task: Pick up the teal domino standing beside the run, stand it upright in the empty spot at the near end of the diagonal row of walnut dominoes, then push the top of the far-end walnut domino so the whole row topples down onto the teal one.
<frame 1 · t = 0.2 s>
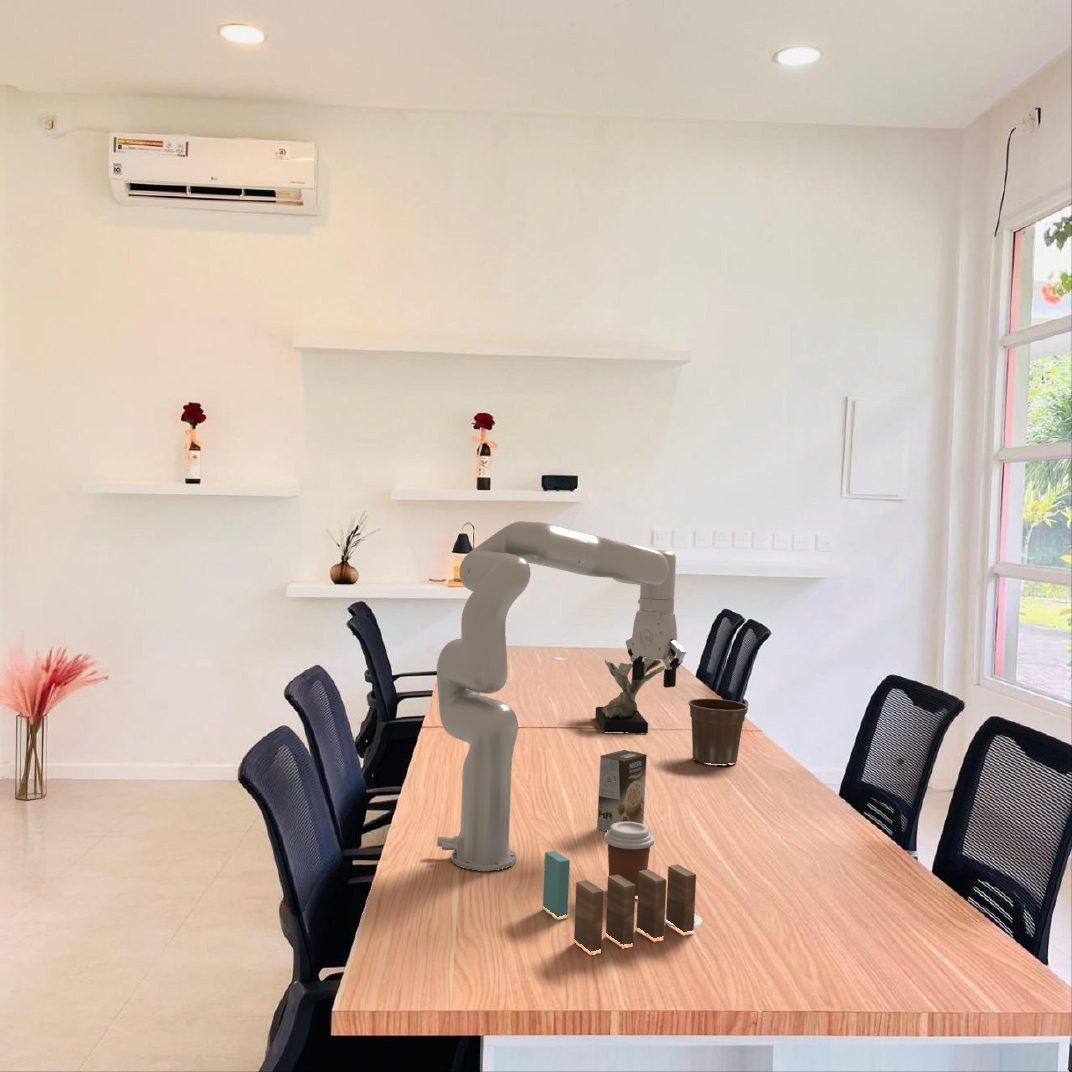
hand: (653, 683, 226), 31 cm above the table, tool pointing down, fingers open, 9 cm apart
teal domino: (555, 913, 175), on the table
domino 4: (587, 948, 162), on the table
plant pot: (715, 762, 284), on the table
domino 3: (619, 941, 165), on the table
domino 2: (649, 935, 167), on the table
coral: (629, 725, 326), on the table
coffee box: (620, 828, 222), on the table
domino 1: (679, 929, 170), on the table
coffee cup: (626, 893, 186), on the table
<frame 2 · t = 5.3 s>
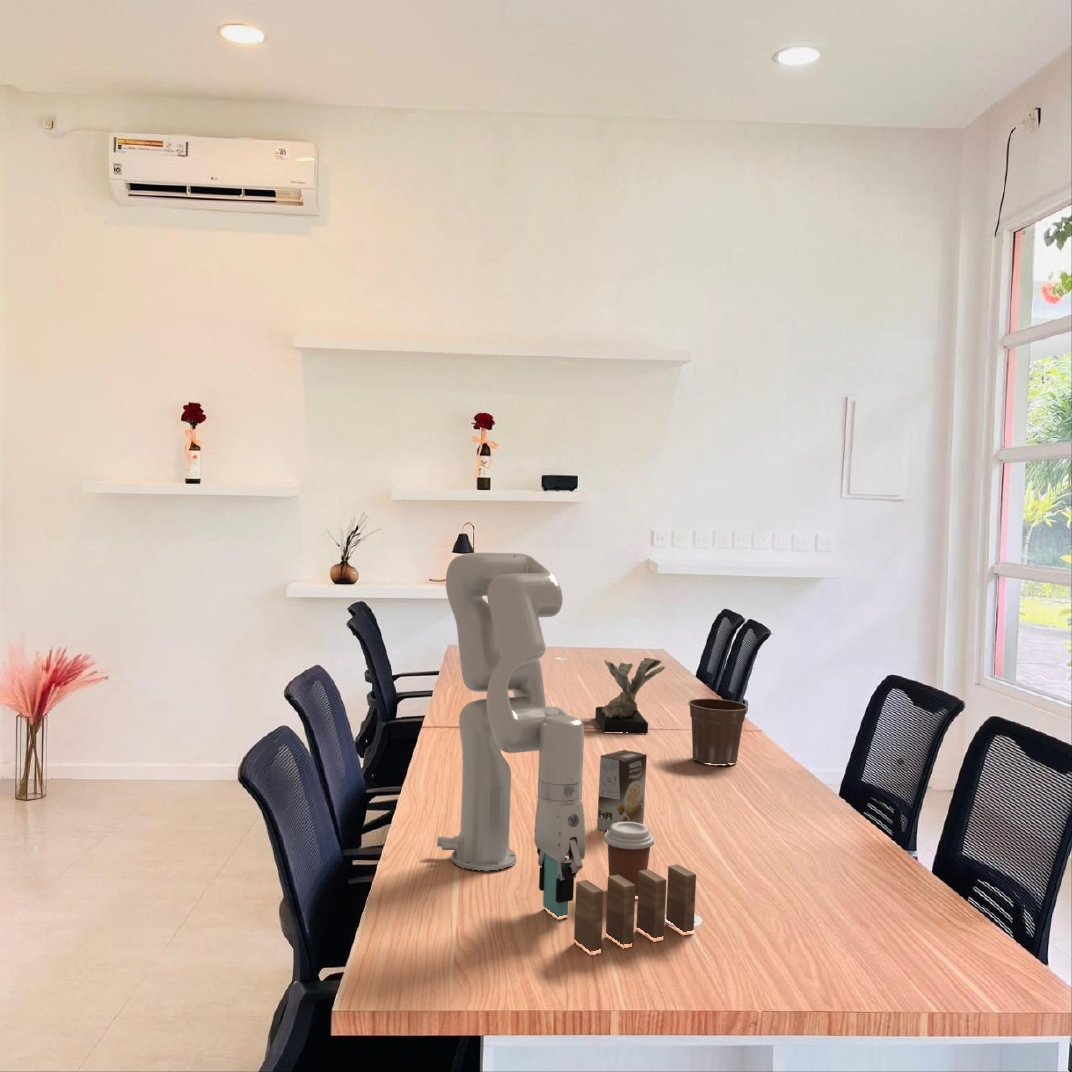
hand: (555, 894, 175), 3 cm above the table, tool pointing down, fingers closed on teal domino, 4 cm apart
teal domino: (555, 913, 175), on the table, touching gripper
everything else where it was.
when the fingers open (5 cm above the table, at t = 12.2 s): teal domino drops 1 cm, on the table.
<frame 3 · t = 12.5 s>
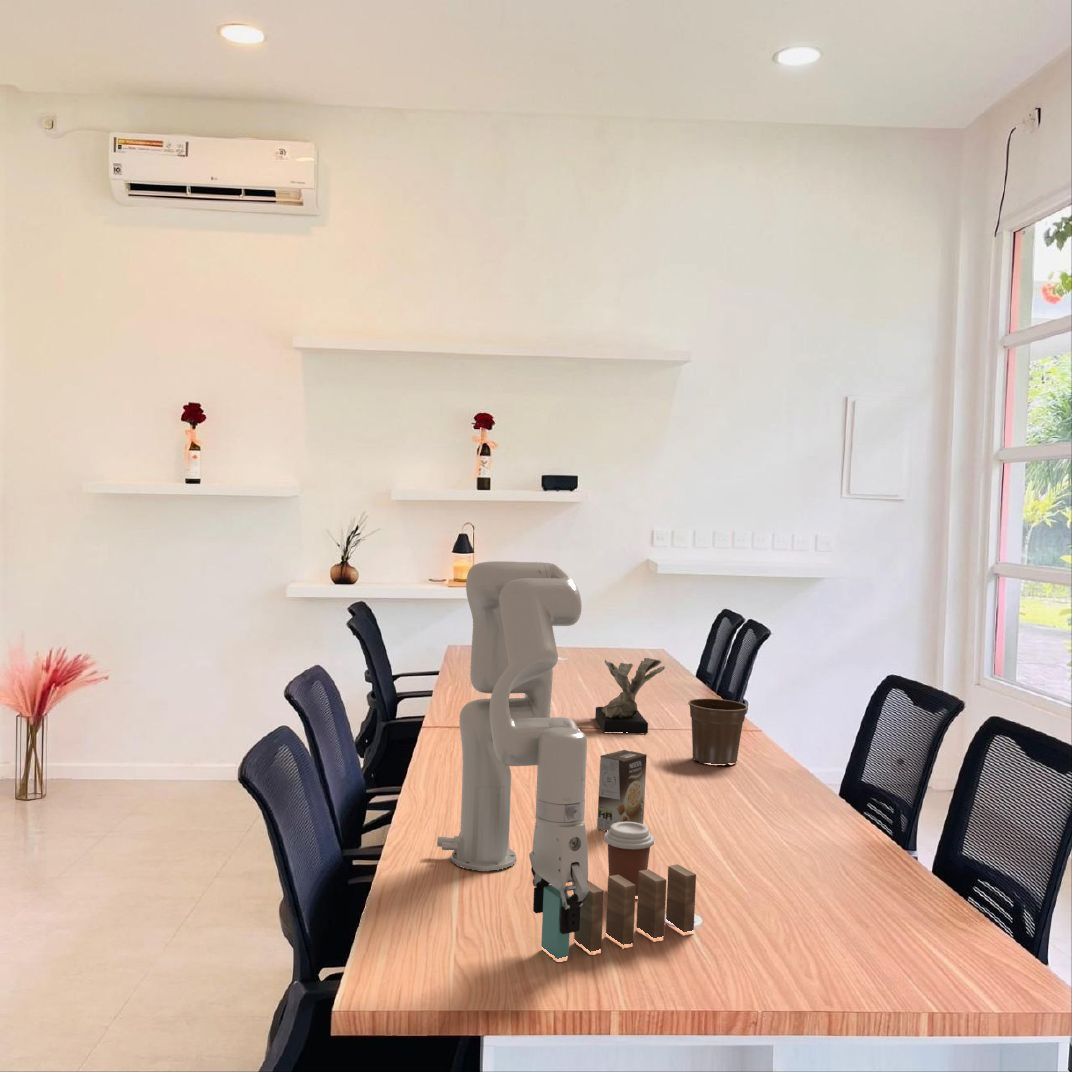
hand: (555, 920, 159), 5 cm above the table, tool pointing down, fingers open, 7 cm apart
teal domino: (554, 955, 159), on the table
everything else where it was.
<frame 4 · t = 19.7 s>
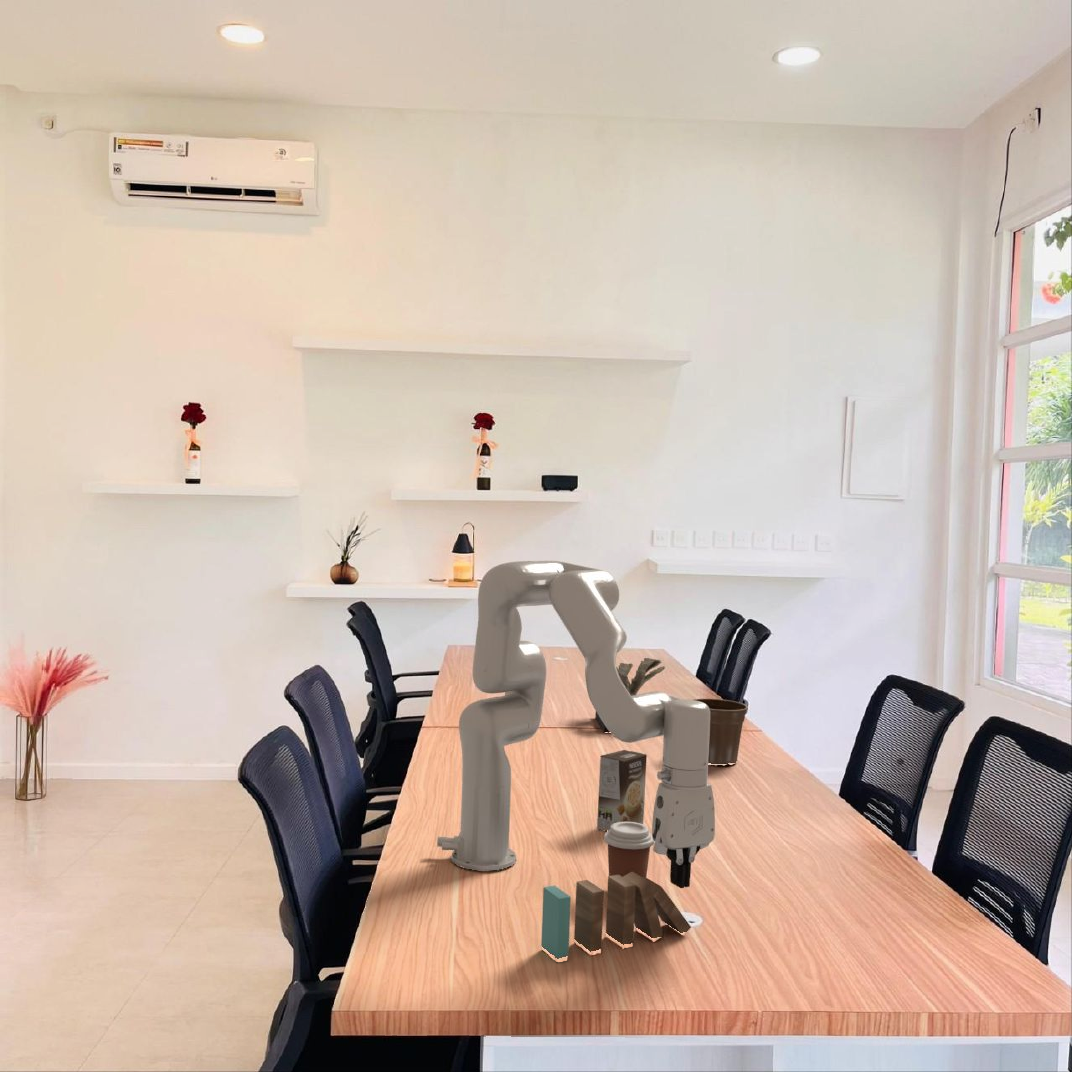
hand: (679, 884, 170), 8 cm above the table, tool pointing down, fingers closed
domino 2: (649, 933, 167), on the table, tilted 19°
domino 1: (678, 925, 170), point 1 cm above the table, tilted 40°
everything else where it was.
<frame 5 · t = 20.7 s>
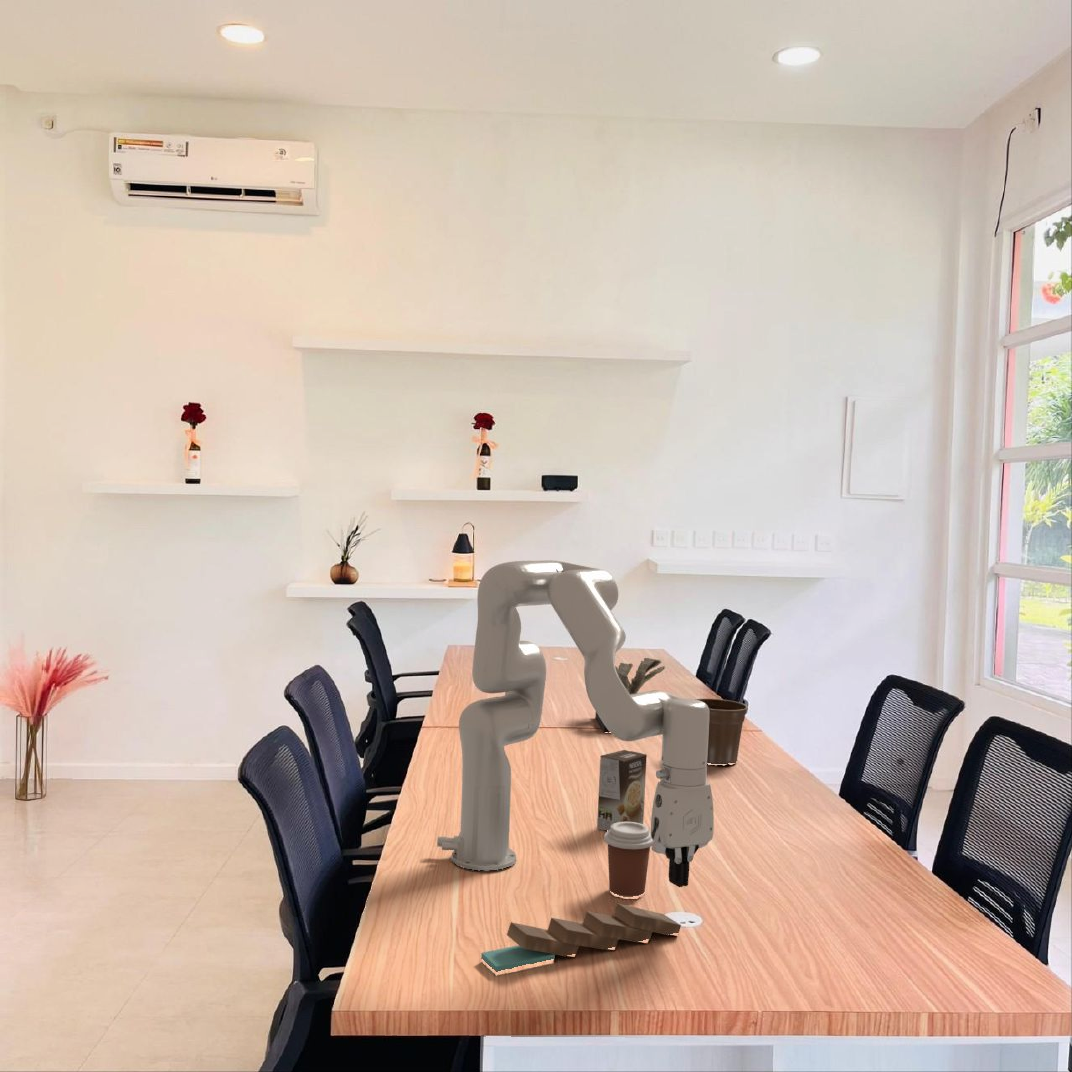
hand: (678, 883, 170), 8 cm above the table, tool pointing down, fingers closed
teal domino: (546, 954, 158), on the table, tilted 90°, touching domino 4
domino 4: (568, 945, 160), point 1 cm above the table, tilted 70°, touching domino 3, teal domino
domino 3: (608, 938, 163), point 1 cm above the table, tilted 72°, touching domino 2, domino 4
domino 2: (641, 932, 166), point 1 cm above the table, tilted 72°, touching domino 1, domino 3
domino 1: (670, 925, 169), point 1 cm above the table, tilted 70°, touching domino 2
everything else where it was.
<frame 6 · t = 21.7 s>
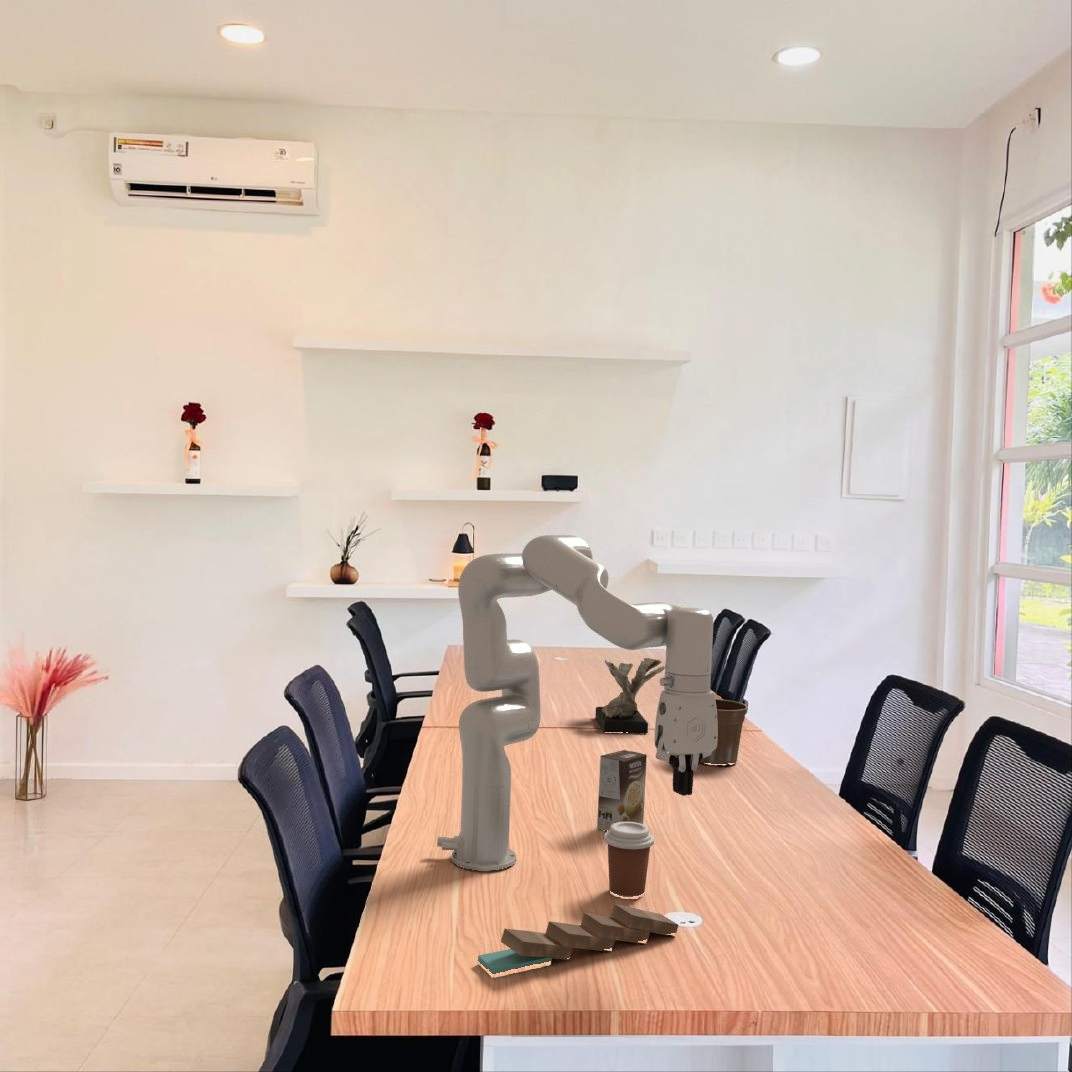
hand: (682, 792, 169), 23 cm above the table, tool pointing down, fingers closed
domino 4: (562, 946, 159), point 1 cm above the table, tilted 73°, touching domino 3, teal domino
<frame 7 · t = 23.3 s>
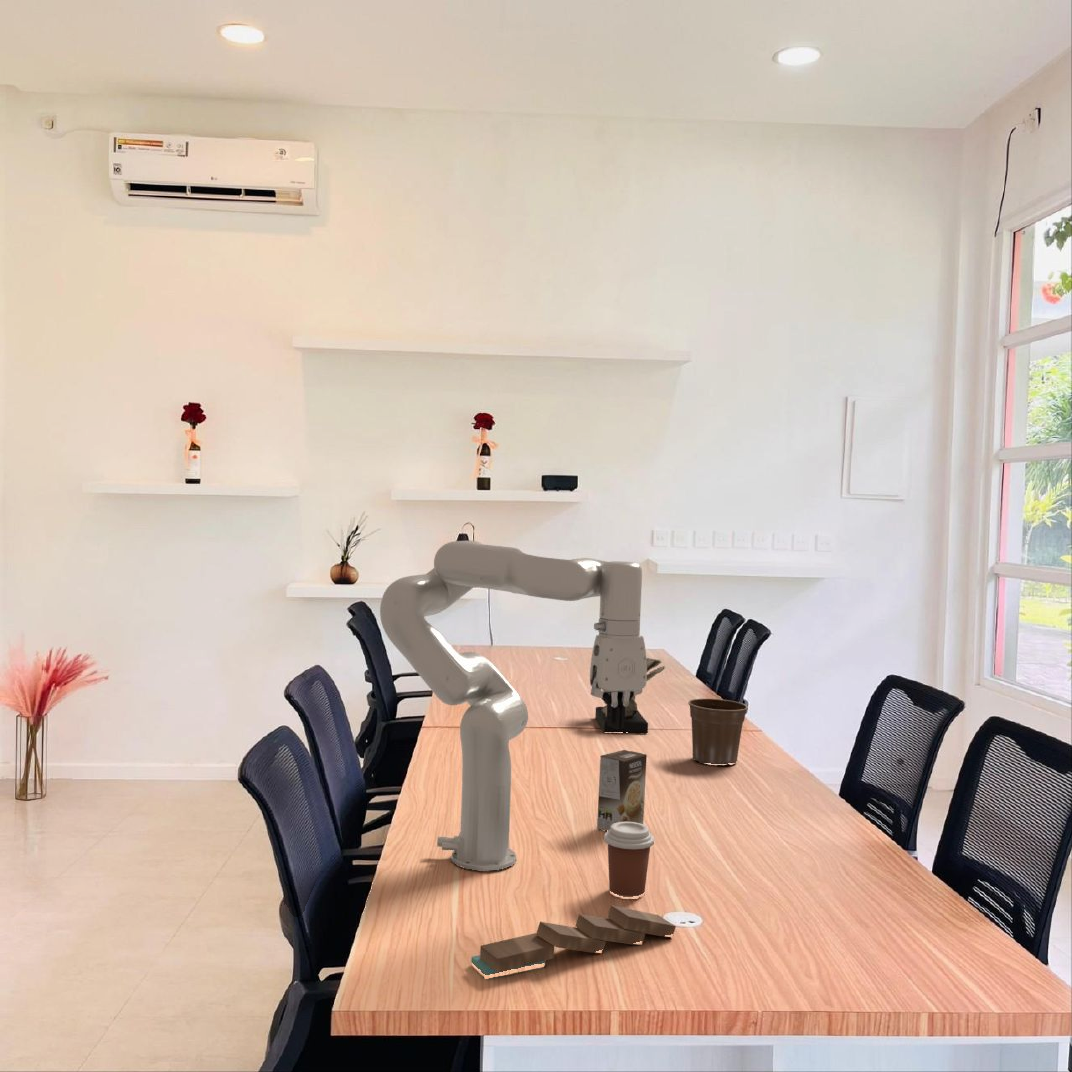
hand: (615, 726, 190), 29 cm above the table, tool pointing down, fingers closed
teal domino: (537, 958, 157), on the table, tilted 90°, touching domino 4
domino 4: (544, 945, 157), point 2 cm above the table, tilted 90°, touching domino 3, teal domino
domino 3: (593, 941, 162), point 1 cm above the table, tilted 70°, touching domino 4
domino 2: (634, 933, 166), point 1 cm above the table, tilted 73°, touching domino 1
domino 1: (664, 926, 169), point 1 cm above the table, tilted 71°, touching domino 2
everything else where it was.
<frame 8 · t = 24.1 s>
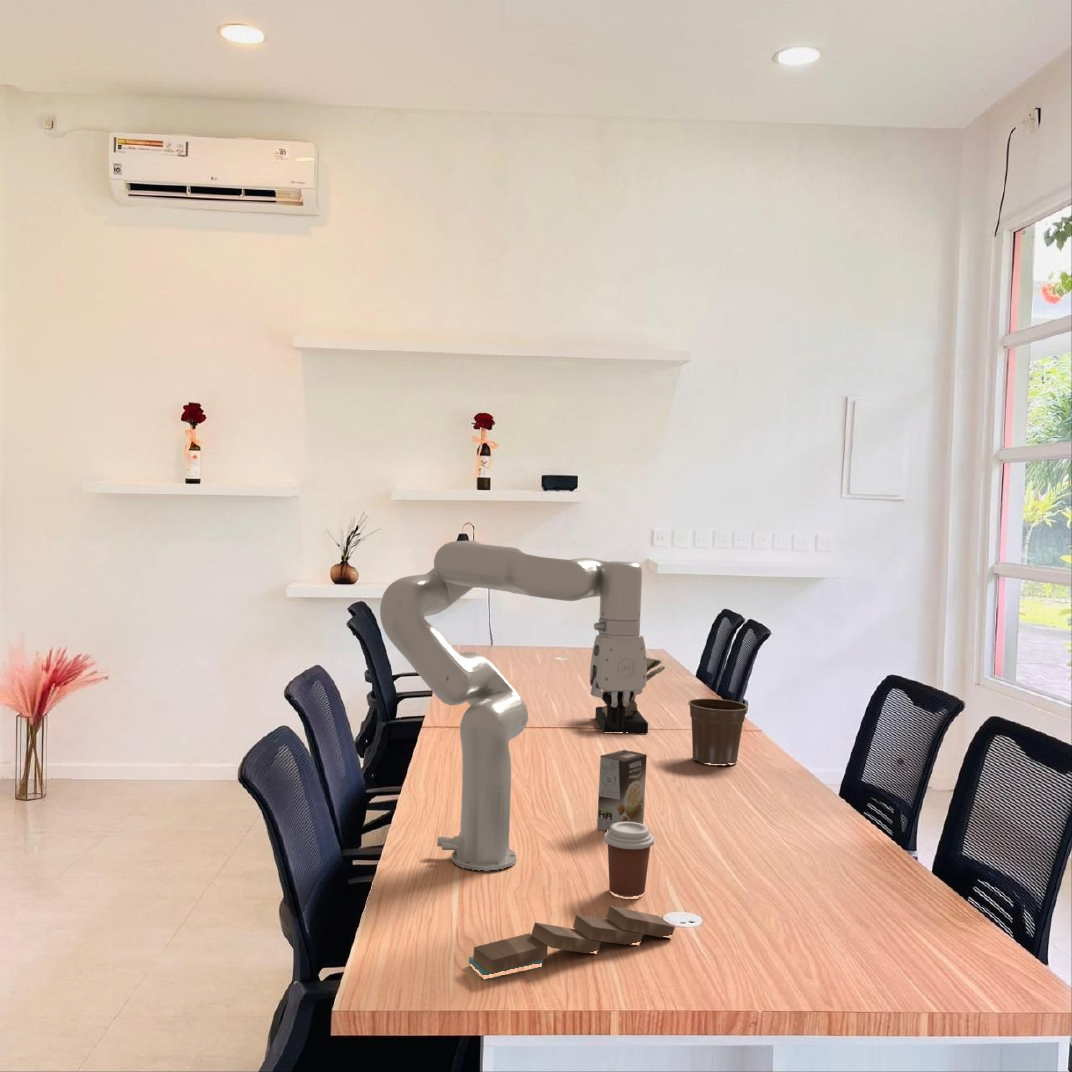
hand: (615, 726, 190), 29 cm above the table, tool pointing down, fingers closed
domino 4: (537, 945, 157), point 2 cm above the table, tilted 90°, touching teal domino
domino 3: (588, 942, 162), point 1 cm above the table, tilted 70°, touching domino 2
domino 2: (632, 934, 166), point 1 cm above the table, tilted 74°, touching domino 1, domino 3
domino 1: (664, 927, 169), point 1 cm above the table, tilted 72°, touching domino 2
everything else where it was.
at the end: teal domino tilted 90°; teal domino inside the target area (1.9 cm from its centre), on the table; domino 1 tilted 72° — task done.
